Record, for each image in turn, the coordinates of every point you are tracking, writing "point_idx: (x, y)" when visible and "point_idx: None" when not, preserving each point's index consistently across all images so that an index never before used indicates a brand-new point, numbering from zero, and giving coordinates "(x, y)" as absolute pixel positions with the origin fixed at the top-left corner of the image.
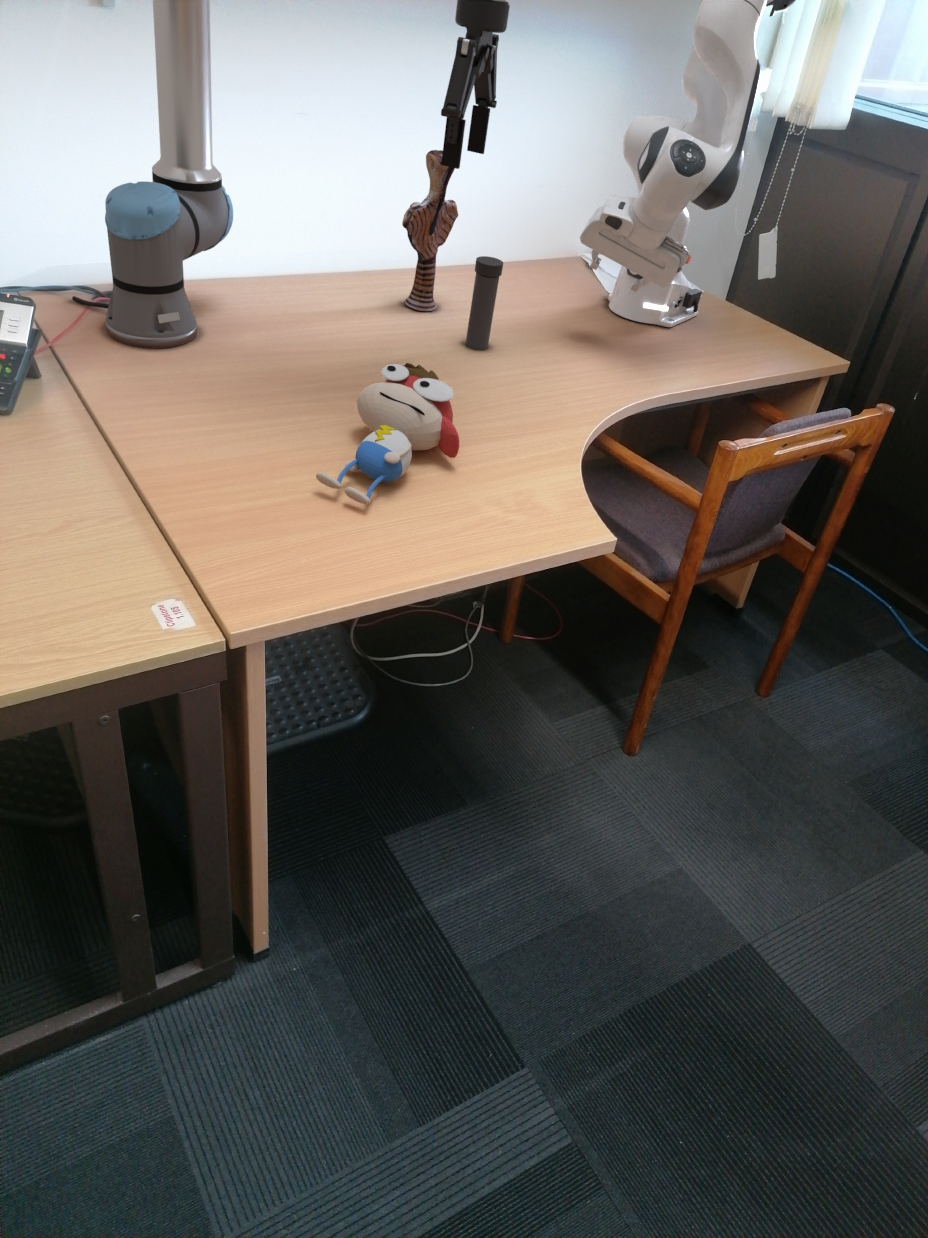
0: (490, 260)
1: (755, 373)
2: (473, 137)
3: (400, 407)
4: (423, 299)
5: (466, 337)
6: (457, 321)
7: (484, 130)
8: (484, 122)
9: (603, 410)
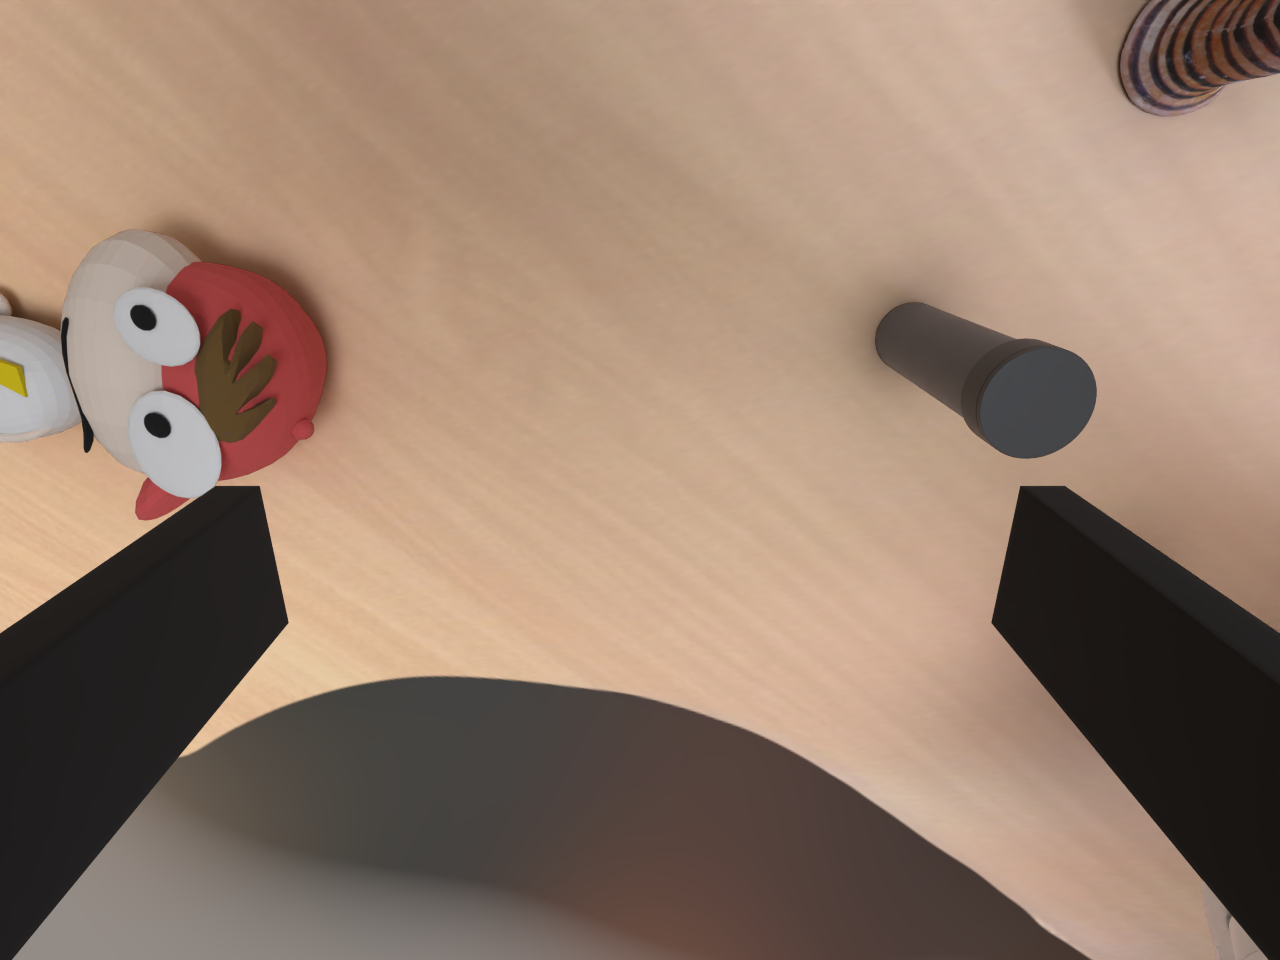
0: (1043, 405)
1: (1071, 921)
2: (1079, 588)
3: (69, 387)
4: (1161, 66)
5: (909, 307)
6: (1083, 222)
7: (1103, 742)
8: (1158, 796)
9: (679, 691)
